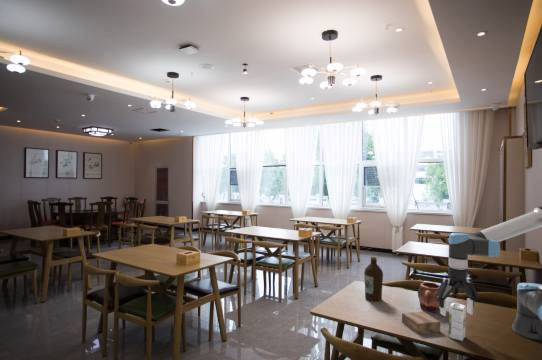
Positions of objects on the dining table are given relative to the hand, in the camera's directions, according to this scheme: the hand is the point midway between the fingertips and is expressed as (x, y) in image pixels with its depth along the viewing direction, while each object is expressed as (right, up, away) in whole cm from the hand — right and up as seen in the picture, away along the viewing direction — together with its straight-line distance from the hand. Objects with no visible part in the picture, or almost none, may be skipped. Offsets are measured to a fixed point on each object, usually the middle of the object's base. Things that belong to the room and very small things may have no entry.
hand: (456, 314), depth 146 cm
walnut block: (-12, -11, +10) cm, 19 cm away
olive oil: (-23, -11, +47) cm, 53 cm away
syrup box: (0, -11, 0) cm, 11 cm away
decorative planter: (+3, -11, +31) cm, 33 cm away
